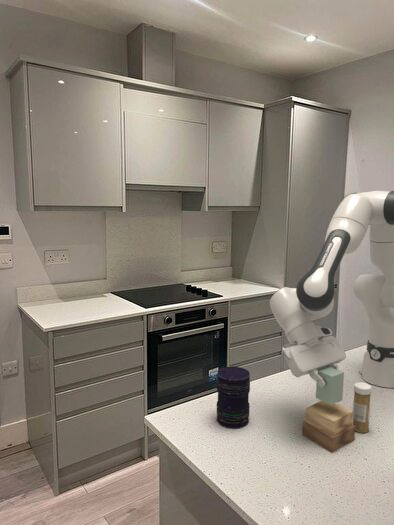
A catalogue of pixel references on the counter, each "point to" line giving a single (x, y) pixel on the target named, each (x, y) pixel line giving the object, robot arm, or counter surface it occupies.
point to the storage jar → (233, 397)
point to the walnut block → (328, 436)
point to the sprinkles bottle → (361, 407)
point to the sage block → (330, 385)
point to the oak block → (329, 417)
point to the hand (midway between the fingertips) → (331, 382)
